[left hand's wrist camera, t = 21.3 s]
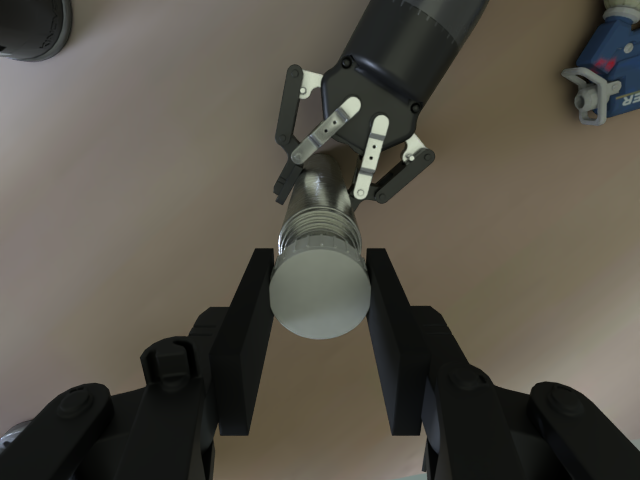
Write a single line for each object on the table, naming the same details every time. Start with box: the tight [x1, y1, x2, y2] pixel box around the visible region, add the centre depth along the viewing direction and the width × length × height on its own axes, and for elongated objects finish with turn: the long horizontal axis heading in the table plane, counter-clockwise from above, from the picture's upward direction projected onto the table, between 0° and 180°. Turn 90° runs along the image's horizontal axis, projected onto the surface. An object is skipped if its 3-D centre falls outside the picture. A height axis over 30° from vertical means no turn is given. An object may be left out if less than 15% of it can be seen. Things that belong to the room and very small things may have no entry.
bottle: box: [278, 153, 362, 256], centre depth 25 cm, size 4×4×24 cm
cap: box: [269, 234, 371, 339], centre depth 14 cm, size 4×4×2 cm
